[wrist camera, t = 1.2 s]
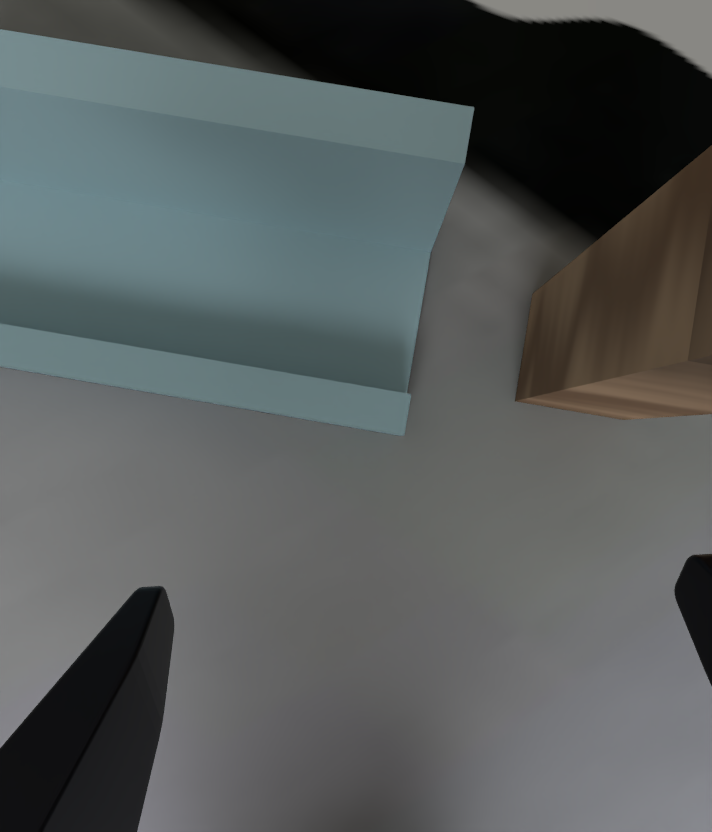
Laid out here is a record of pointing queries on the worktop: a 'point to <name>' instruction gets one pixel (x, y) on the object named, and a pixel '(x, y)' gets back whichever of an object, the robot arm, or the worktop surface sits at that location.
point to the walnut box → (631, 313)
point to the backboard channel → (217, 229)
